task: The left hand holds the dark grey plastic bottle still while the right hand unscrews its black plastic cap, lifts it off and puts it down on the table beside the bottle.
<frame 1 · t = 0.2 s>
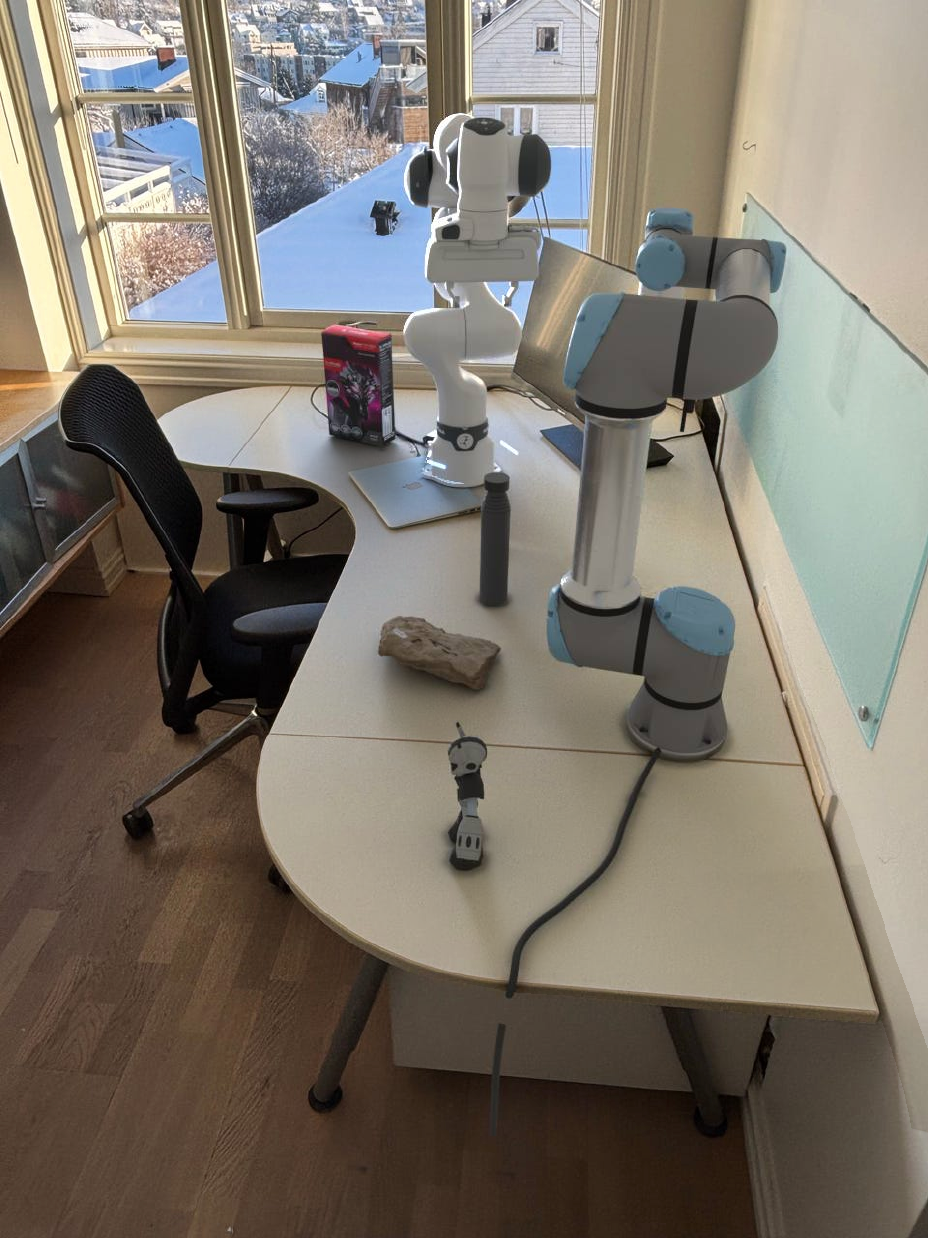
left hand: (481, 306, 168), 48 cm above the table, tool pointing down, fingers open, 8 cm apart
right hand: (644, 425, 169), 29 cm above the table, tool pointing down, fingers open, 13 cm apart
stone: (433, 664, 157), on the table
robot: (466, 847, 123), on the table
bottle: (493, 599, 174), on the table
cap: (496, 478, 160), point 25 cm above the table, screwed on, not yet turned
graphics card box: (362, 438, 237), on the table
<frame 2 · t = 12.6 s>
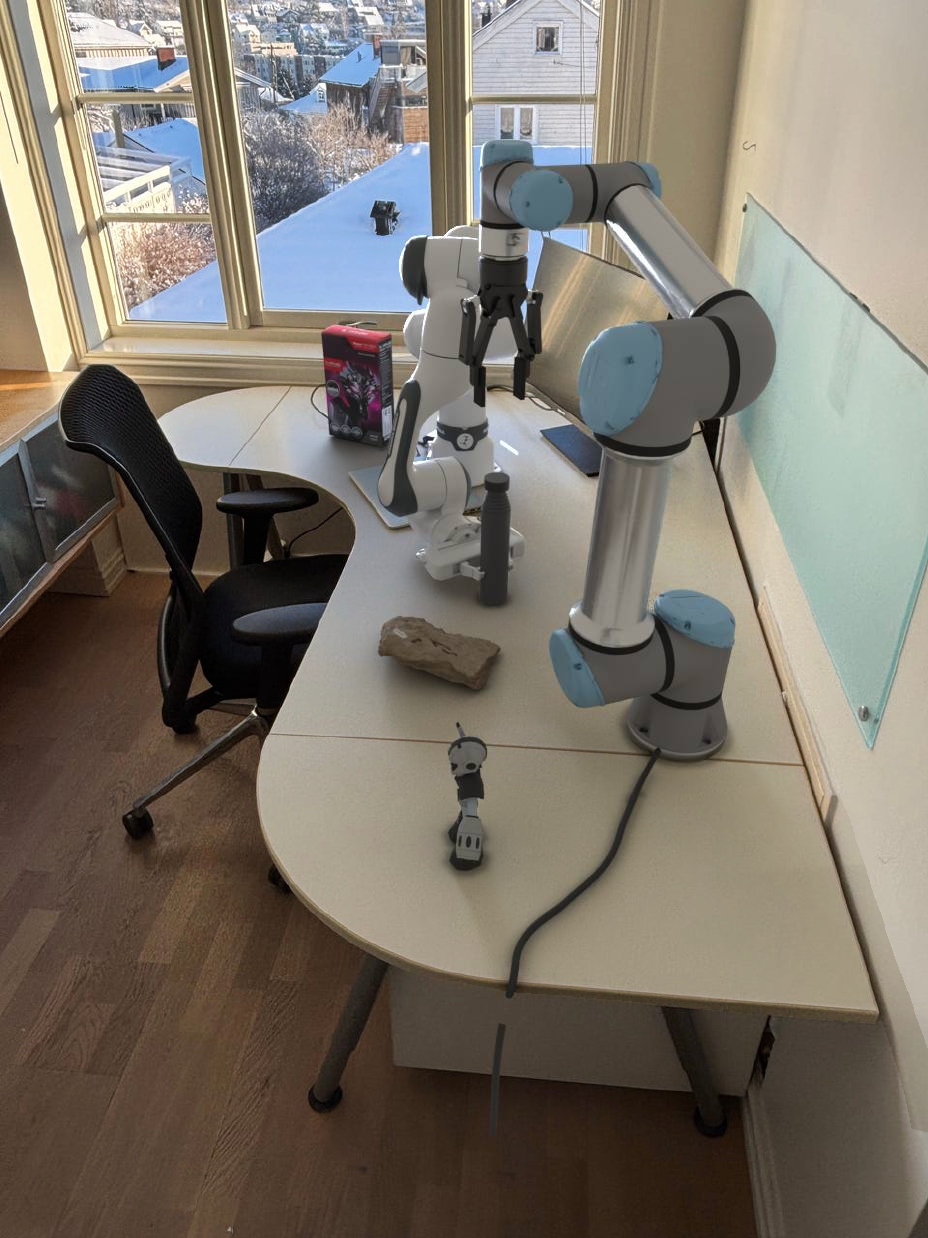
left hand: (497, 571, 170), 7 cm above the table, tool horizontal, fingers closed on bottle, 5 cm apart
right hand: (499, 400, 152), 39 cm above the table, tool pointing down, fingers open, 7 cm apart
bottle: (493, 599, 174), on the table, touching left hand
everything else where it was.
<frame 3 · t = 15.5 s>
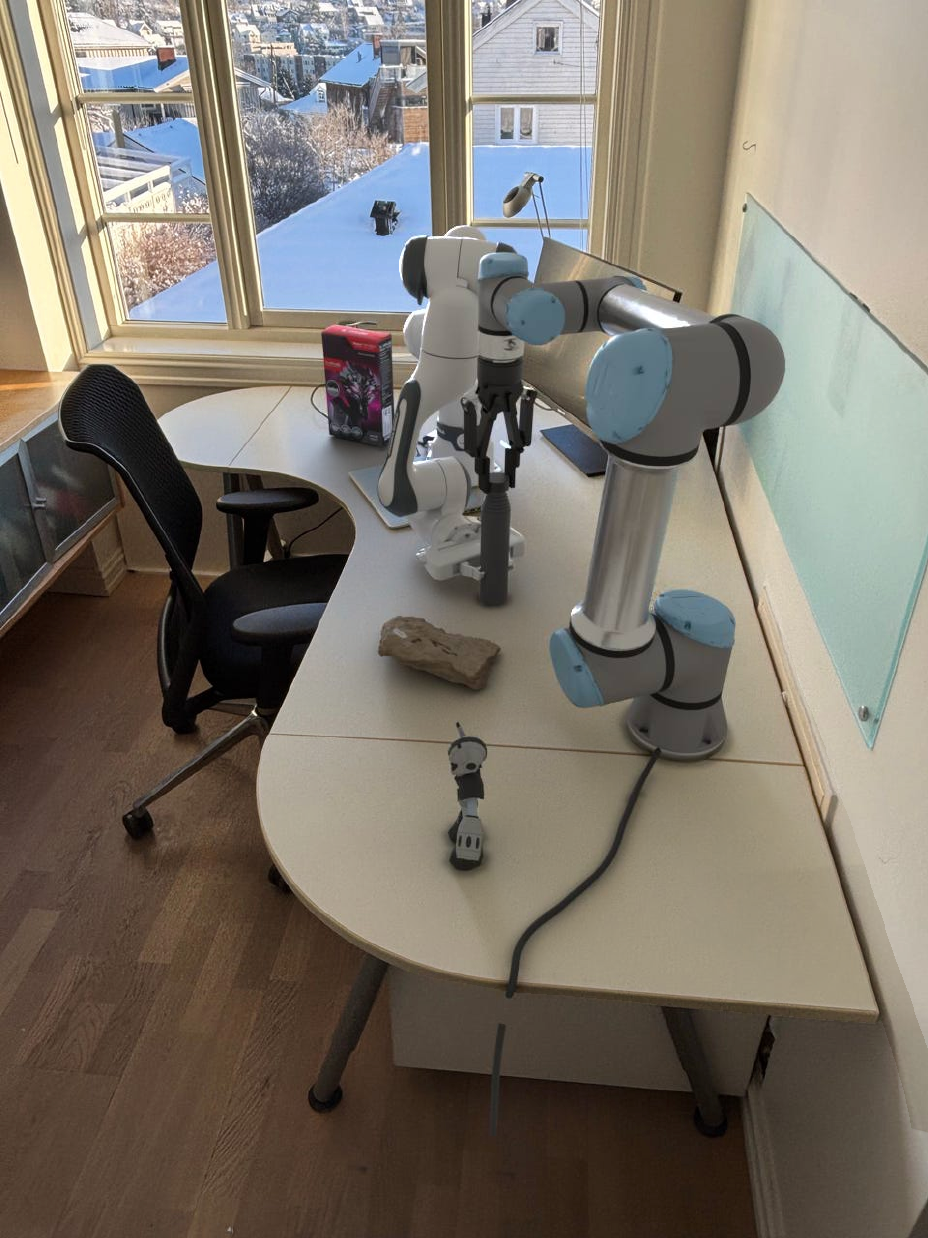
left hand: (497, 571, 170), 7 cm above the table, tool horizontal, fingers closed on bottle, 5 cm apart
right hand: (496, 487, 161), 23 cm above the table, tool pointing down, fingers closed on cap, 4 cm apart
bottle: (493, 599, 174), on the table, touching left hand
cap: (496, 479, 160), point 25 cm above the table, screwed on, not yet turned, touching right hand
everything else where it was.
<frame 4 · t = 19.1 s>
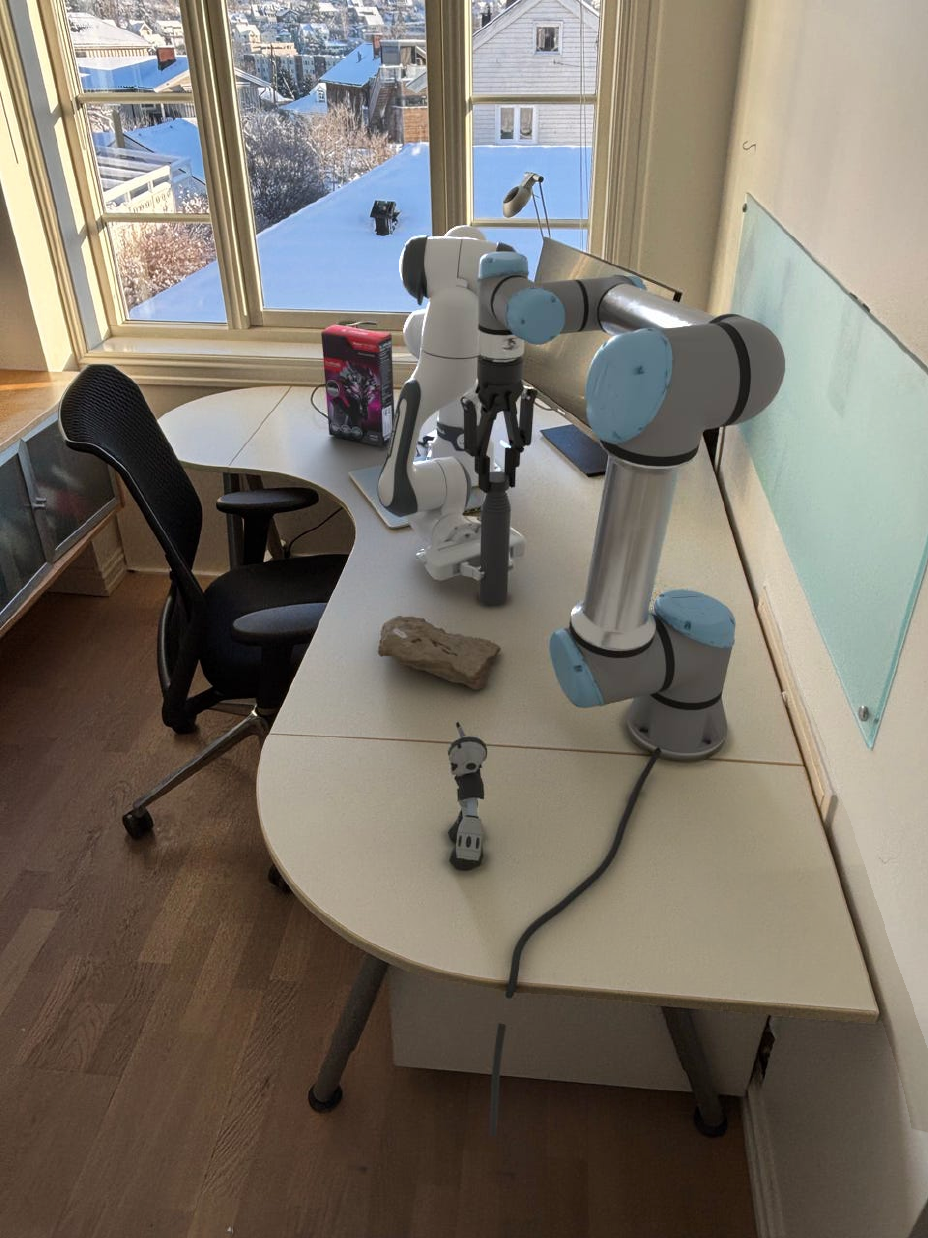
left hand: (497, 571, 170), 7 cm above the table, tool horizontal, fingers closed on bottle, 5 cm apart
right hand: (496, 486, 161), 23 cm above the table, tool pointing down, fingers closed on cap, 4 cm apart
bottle: (493, 599, 174), on the table, touching left hand
cap: (496, 478, 160), point 25 cm above the table, turned 123° so far, risen 0.1 cm, still on its thread, touching right hand
everything else where it was.
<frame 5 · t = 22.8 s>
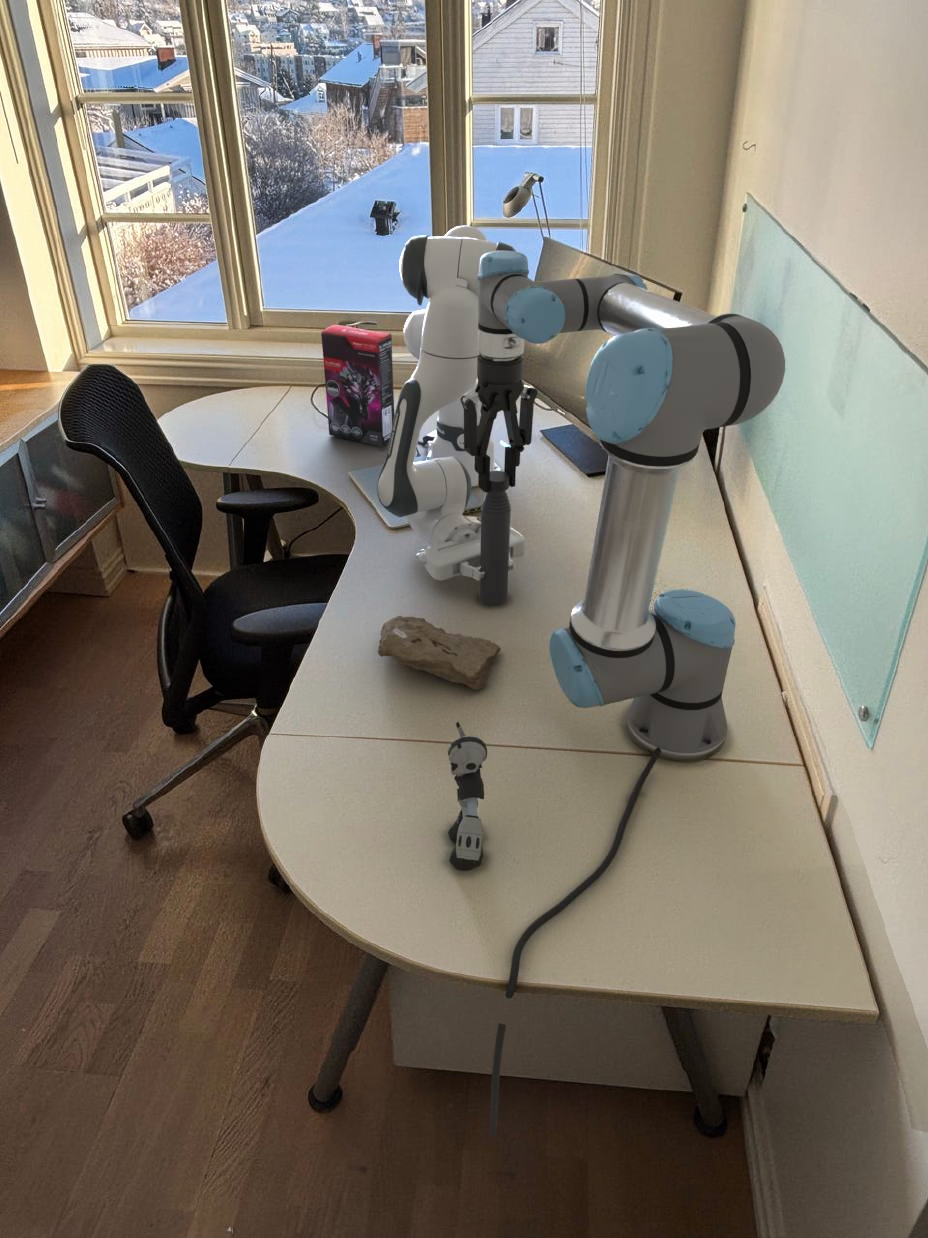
left hand: (497, 571, 170), 7 cm above the table, tool horizontal, fingers closed on bottle, 5 cm apart
right hand: (496, 486, 161), 23 cm above the table, tool pointing down, fingers closed on cap, 4 cm apart
bottle: (493, 599, 174), on the table, touching left hand
cap: (497, 477, 160), point 25 cm above the table, turned 246° so far, risen 0.3 cm, still on its thread, touching right hand
everything else where it was.
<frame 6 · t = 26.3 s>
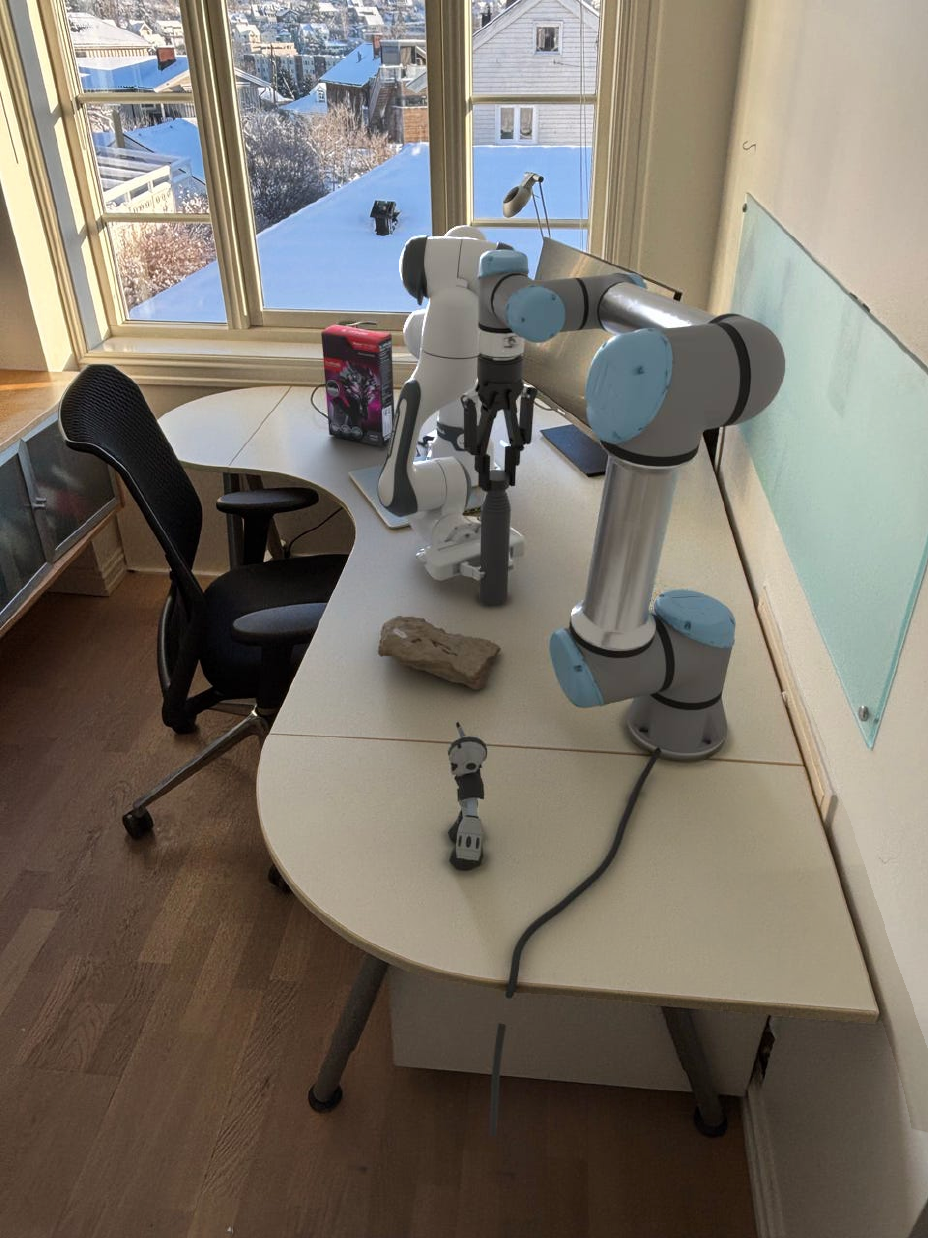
left hand: (497, 571, 170), 7 cm above the table, tool horizontal, fingers closed on bottle, 5 cm apart
right hand: (496, 485, 161), 24 cm above the table, tool pointing down, fingers closed on cap, 4 cm apart
bottle: (493, 599, 174), on the table, touching left hand
cap: (497, 476, 160), point 25 cm above the table, turned 369° so far, risen 0.4 cm, still on its thread, touching right hand
everything else where it was.
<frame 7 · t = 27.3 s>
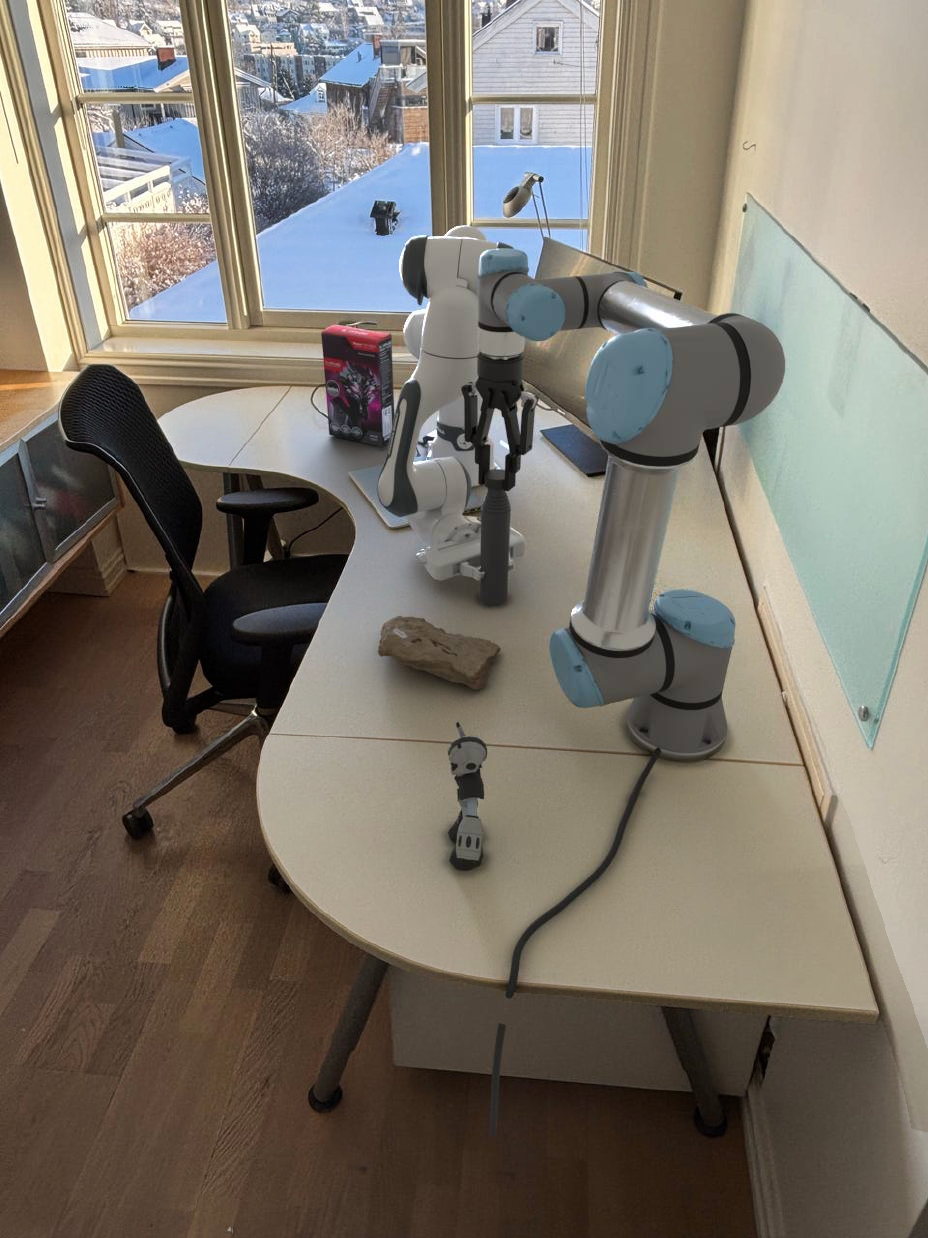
left hand: (497, 571, 170), 7 cm above the table, tool horizontal, fingers closed on bottle, 5 cm apart
right hand: (496, 484, 161), 24 cm above the table, tool pointing down, fingers closed on cap, 4 cm apart
bottle: (493, 599, 174), on the table, touching left hand
cap: (497, 475, 160), point 25 cm above the table, off its thread, touching right hand
everything else where it was.
when the right hand's fingers open (2 cm above the table, at t = 34.8 s): cap drops 2 cm, point 2 cm above the table.
when the left hand's fingers open (7 cm above the table, at t = 36.1 s): bottle stays where it is, on the table.
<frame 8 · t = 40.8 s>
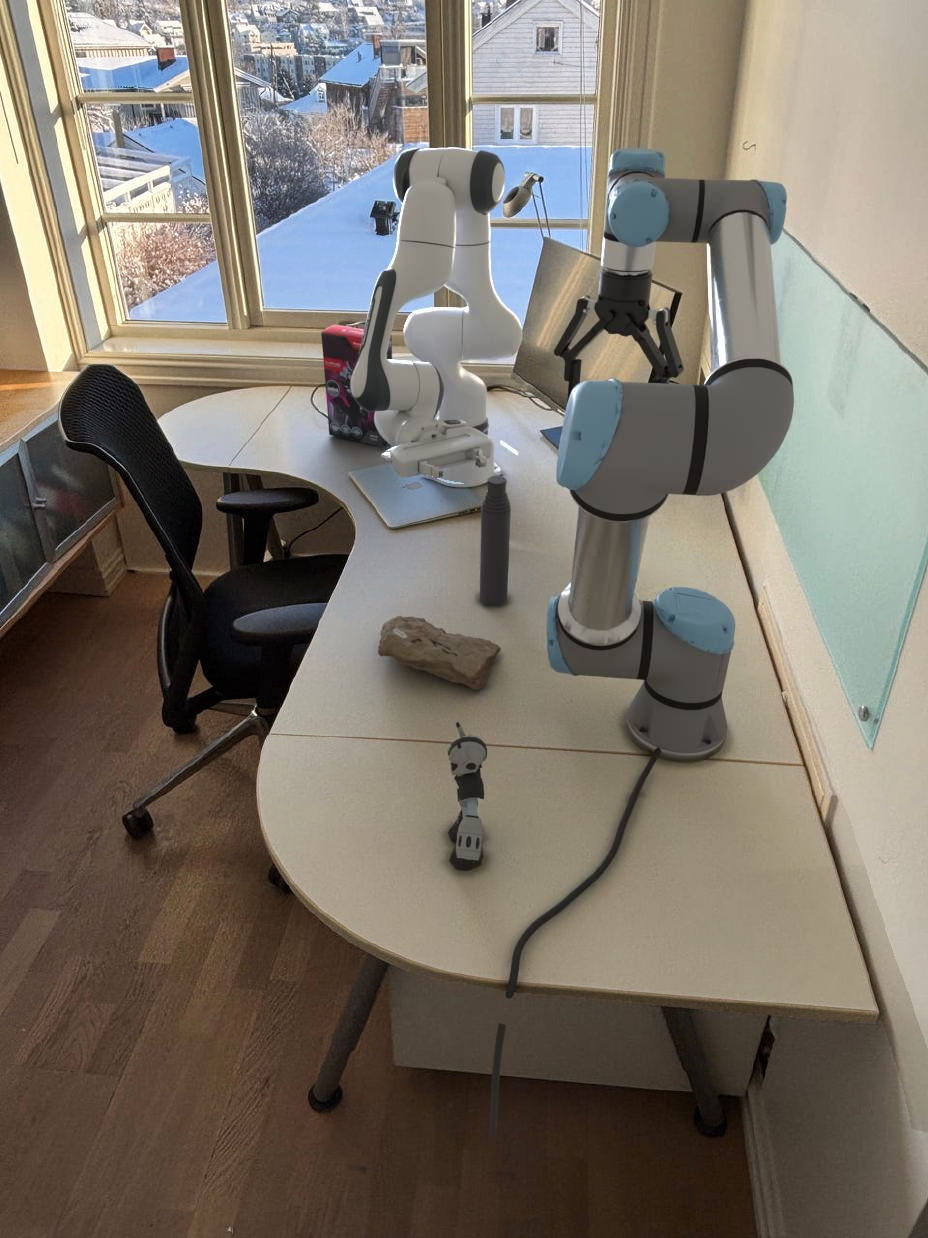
left hand: (462, 468, 170), 22 cm above the table, tool horizontal, fingers open, 8 cm apart
right hand: (612, 409, 145), 41 cm above the table, tool pointing down, fingers open, 13 cm apart
bottle: (493, 599, 174), on the table
cap: (591, 616, 167), point 2 cm above the table, off its thread
everything else where it was.
at the end: cap came off its thread; cap point 1.6 cm above the table; the left hand is holding nothing; the right hand is holding nothing; bottle tilted 0°; bottle moved 0.0 cm from its start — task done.
